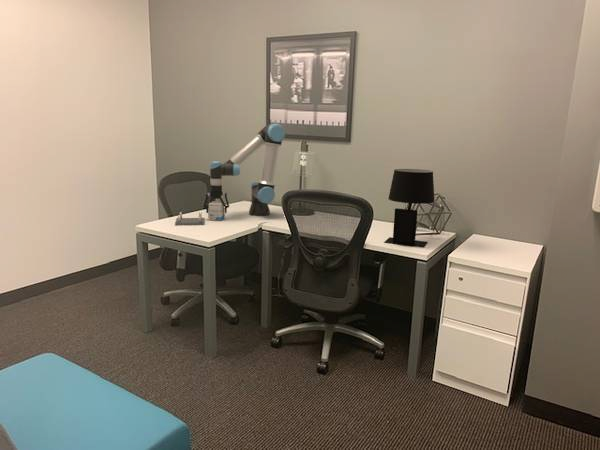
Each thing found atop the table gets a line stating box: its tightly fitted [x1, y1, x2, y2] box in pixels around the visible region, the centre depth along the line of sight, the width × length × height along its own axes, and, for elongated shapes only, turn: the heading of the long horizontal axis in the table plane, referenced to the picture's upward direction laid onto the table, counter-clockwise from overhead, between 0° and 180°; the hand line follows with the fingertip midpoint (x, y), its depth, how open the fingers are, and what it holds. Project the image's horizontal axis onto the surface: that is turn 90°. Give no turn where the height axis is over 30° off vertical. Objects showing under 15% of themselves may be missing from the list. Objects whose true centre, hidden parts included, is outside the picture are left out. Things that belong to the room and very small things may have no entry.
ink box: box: [208, 201, 225, 222], centre depth 304 cm, size 8×8×12 cm
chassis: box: [174, 211, 205, 226], centre depth 293 cm, size 18×16×6 cm
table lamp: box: [383, 168, 435, 248], centre depth 256 cm, size 26×28×40 cm
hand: (216, 217), depth 305 cm, fingers closed on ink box, 10 cm apart
